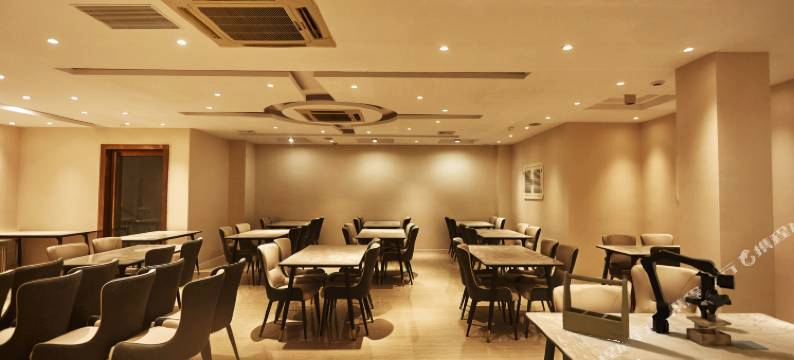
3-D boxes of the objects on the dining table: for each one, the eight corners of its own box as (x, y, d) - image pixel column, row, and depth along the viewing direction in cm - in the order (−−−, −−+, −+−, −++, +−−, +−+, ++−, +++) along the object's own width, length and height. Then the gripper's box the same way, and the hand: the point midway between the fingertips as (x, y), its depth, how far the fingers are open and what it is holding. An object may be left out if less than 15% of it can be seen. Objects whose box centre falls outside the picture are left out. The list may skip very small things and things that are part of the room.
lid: (701, 327, 189) (701, 316, 189) (686, 320, 199) (686, 310, 199) (731, 327, 189) (731, 316, 189) (714, 320, 199) (714, 310, 199)
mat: (740, 349, 185) (740, 348, 185) (723, 341, 195) (723, 340, 195) (769, 349, 185) (769, 348, 185) (750, 341, 195) (750, 340, 195)
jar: (713, 329, 212) (712, 306, 212) (695, 325, 218) (694, 303, 219) (719, 326, 216) (719, 304, 217) (702, 322, 223) (701, 300, 224)
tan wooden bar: (704, 324, 200) (704, 320, 200) (686, 316, 213) (685, 312, 213) (709, 324, 200) (709, 320, 200) (690, 316, 213) (690, 312, 213)
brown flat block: (701, 345, 189) (701, 335, 189) (686, 338, 199) (686, 327, 199) (731, 346, 189) (731, 335, 189) (714, 338, 198) (714, 328, 199)
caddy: (562, 329, 210) (561, 272, 211) (569, 324, 218) (569, 269, 219) (624, 344, 190) (623, 280, 191) (629, 338, 198) (629, 277, 199)
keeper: (698, 335, 203) (698, 317, 203) (694, 333, 206) (694, 315, 206) (708, 335, 202) (708, 317, 203) (703, 333, 206) (703, 315, 206)
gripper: (700, 290, 186) (701, 323, 186) (741, 290, 186) (741, 324, 186) (683, 284, 197) (684, 316, 197) (721, 284, 197) (722, 316, 197)
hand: (708, 318), depth 194 cm, fingers closed on lid, 3 cm apart
